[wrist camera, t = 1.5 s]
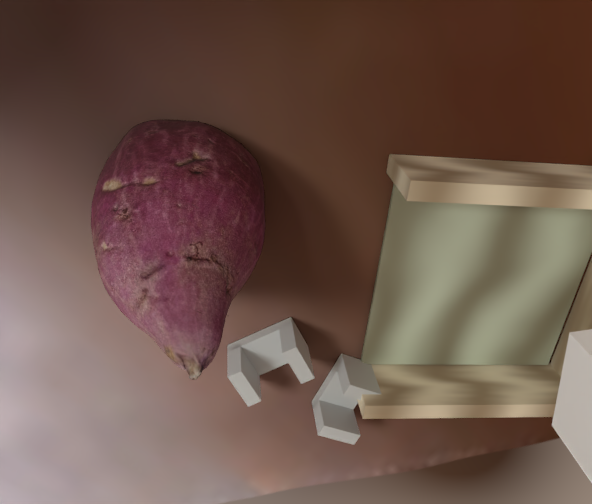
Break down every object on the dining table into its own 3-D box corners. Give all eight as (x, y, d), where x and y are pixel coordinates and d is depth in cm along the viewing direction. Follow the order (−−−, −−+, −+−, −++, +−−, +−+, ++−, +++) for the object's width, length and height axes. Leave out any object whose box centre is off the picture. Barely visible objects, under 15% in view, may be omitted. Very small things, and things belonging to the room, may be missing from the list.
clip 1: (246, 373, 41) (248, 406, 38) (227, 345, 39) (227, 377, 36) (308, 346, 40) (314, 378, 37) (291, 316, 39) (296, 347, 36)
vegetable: (275, 214, 39) (360, 384, 28) (137, 274, 38) (168, 471, 27) (223, 79, 31) (309, 236, 20) (51, 150, 31) (46, 351, 20)
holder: (350, 375, 42) (362, 418, 38) (389, 154, 34) (411, 180, 30) (559, 375, 44) (591, 416, 40) (643, 168, 36) (693, 195, 32)
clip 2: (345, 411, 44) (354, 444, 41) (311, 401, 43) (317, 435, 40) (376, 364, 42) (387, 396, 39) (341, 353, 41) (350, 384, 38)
